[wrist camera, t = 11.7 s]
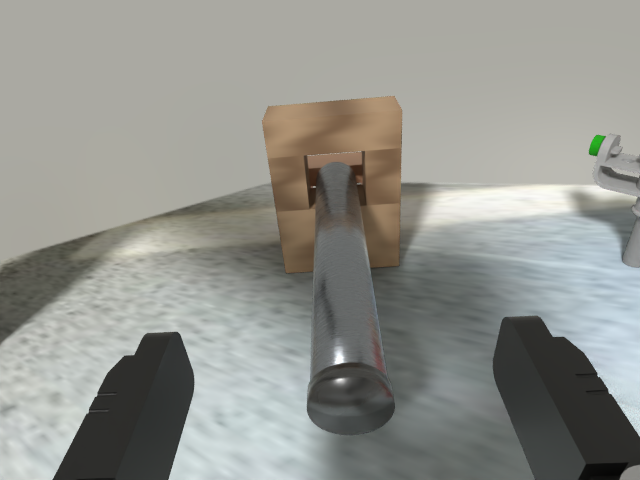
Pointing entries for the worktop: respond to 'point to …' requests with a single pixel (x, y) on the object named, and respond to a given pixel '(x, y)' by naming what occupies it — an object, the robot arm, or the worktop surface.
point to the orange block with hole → (347, 158)
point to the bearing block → (336, 137)
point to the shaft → (344, 315)
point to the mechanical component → (619, 183)
